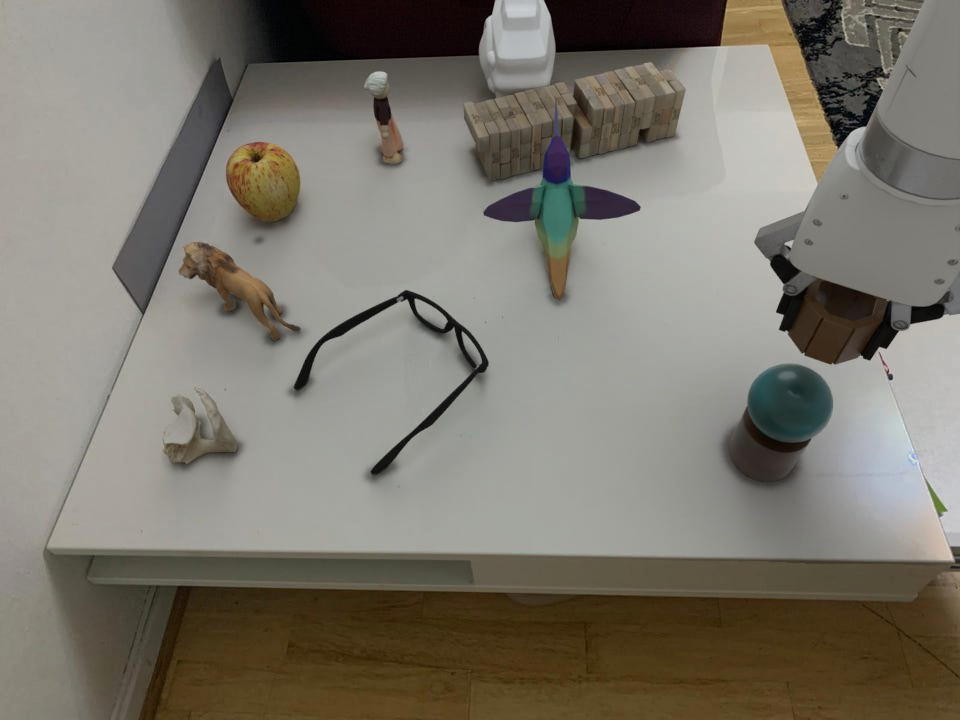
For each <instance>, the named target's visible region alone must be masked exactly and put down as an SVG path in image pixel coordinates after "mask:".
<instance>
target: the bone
mask: <svg viewBox="0 0 960 720" xmlns="http://www.w3.org/2000/svg"><path fill="white" fill-rule="evenodd" d="M193 389H194V390H195V392H196V393H197V395H198V396H199V398H200V401H201V403H202V405H203V406H204V408H205V410H206V413H207V414H206V415H207V418H208V420H209V423H210V425H211V428H212V435H213V438H212V439H205V438H202V436H201V427H202V422H201V421H200V420H199V418H198V415H197V414H196V409H195V405H194V403H193V401H192V400H191V399H190V398H188V397H187V396H183V395H181V394H180V393H177V394H175V395H173V396H172V397H171V403H172V405H173V409H172V412H174V414H175V415H177V417H176V419H175V421H174V422H173V423H170V424H168V425H167V426H165V427H164V430H163V437H162V442H163V445H164V446H163V449H162V453H163V454H164V455H165V456H166V457H168V460H169V463H170V464H175V463H185V465H188V464H189V463H191V462H192V461H194V460H195V459H197V458H198V457H200V456H202V455H205V454H210V453H236V452H237V450H238V445H237V440H236V438H235V435H234V433H233V432H232V431H231V429H230V427H229V426H228V424H227V423H226V421H225V419H224V417H223V415H222V414H221V412H220V411H219V407H218V405H217V403H216V401H215V400H214V399H213V397H212V396H211V395H210V394H209V393H208V392H207V391H205V389H203V388H202V387H197V386H194V388H193Z"/></svg>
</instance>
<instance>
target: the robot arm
mask: <svg viewBox="0 0 960 720" xmlns="http://www.w3.org/2000/svg"><path fill="white" fill-rule="evenodd" d="M788 242H792V244H791V246H790V245H787V244H786V243H788ZM753 244H754V245H755V246H756V248H757V249H758V250H759V251H760V253H761V254H762V255H763V257H765V259H767V260H768V261H769V262H770V263H769V267H770V268H771V269H772V270H773V272H774V273H775V275H776V276H777V278H778V279H779V281H780V282H781V283H782V284H783V286H782V295H781V297H780V299H779V302H778V305H777V308H776V309H775V313H776V314H779V315H781V316H783V317H782V319H781V322H780V325H779V328H778V331H780V332H783V333H786V332H787V331H789V329H790V327H791V325H792V323H793V321H794V319H795V317H796V315H797V312H798V310H799V308H800V306H801V304H802V302H803V299H804V298H803V297H804V295H805V292H806V289H807V287H808V286H809V285H810V284H811V283H813V282H814V281H815V280H816V279H818V278H820V279H824V280H827V281H830V282H833V283H836V284H839V285H842V286H845V287H848V288H852V289H855V290H858V291H861V292H864V293H868V294H871V295H874V296H877V297H881V298H884V299H887V301H888V304H887V308H886V312H885V315H884V319H883V322H882V323H881V324H880V325H879V327H878V328H877V330H876V331H875V333H874V335H873V336H872V338H871V339H870V341H869V342H868V344H867V345H866V347H865V348H864V350H863V352H862V353H861V355H860V357H862V359H863V360H866V361H872V358H873V357H874V356H875V354H876V353H877V351H879V348H881V349H884V350H887V349H888V348H889V347H890V345H891V344H892V342H893V341H894V339H895V338H896V337H897V335H898V334H899V332H904V331H907V330H909V329H910V326H911V325H915V324H920V323H925V322H930V321H936V320H940V319H942V318H943V317H944V316H946V315H948V316H955V315H960V0H923V3H922V4H921V7H920V9H919V11H918V14H917V15H916V18H915V20H914V22H913V24H912V27H911V29H910V30H909V33H908V36H907V37H906V39H905V42H904V44H903V46H902V48H901V50H900V53H899V55H898V57H897V59H896V62H895V64H894V66H893V67H892V70H891V72H890V74H889V77H888V79H887V81H886V83H885V85H884V87H883V90H882V92H881V95H880V96H879V99H878V101H877V103H876V105H875V107H874V109H873V111H872V113H871V115H870V118H869V120H868V122H867V124H866V126H861V127H858V128H856V129H854V130H852V131H851V132H850V133H849V135H847V137H846V138H845V139H844V141H843V142H842V143H841V144H840V146H839V147H838V149H837V150H836V152H835V154H834V155H833V157H832V158H831V160H830V161H829V163H828V165H827V167H826V168H825V170H824V172H823V174H822V176H821V177H820V179H819V181H818V183H817V185H816V187H815V189H814V191H813V193H812V195H811V197H810V199H809V201H808V203H807V205H806V207H805V209H804V210H803V211H800V212H798V213H796V214H795V213H794V214H793V215H790V216H787V217H785V218H783V219H780V220H777V221H776V222H773V223H770V224H767V225H765V226H761V227H760V228H759V230H758V231H757V234H756V236H755V238H754V240H753Z"/></svg>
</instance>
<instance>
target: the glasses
mask: <svg viewBox="0 0 960 720" xmlns="http://www.w3.org/2000/svg"><path fill="white" fill-rule="evenodd" d="M416 300H417V301H421V302H424V303H425V304H427V305H429V306H431V307H432V308H434V309H435V310H437V311H438V312H439V313H440V314H442V315H443V317H445V319H446V321H447V322H446V323H445V325H444V328H441V327H439V326H436V325H435V324H433V323H431V322H430V321H428V320H427V319H425V318H424V317H423V316H421V314H420V313H419V312H418V310H417V306H416ZM405 301H407V302H408V305H409V307H410V310H411V312H412V314H413V315H414V317H415V318H416V319H417V320H418V321H419V322H420V323H422V324H423V325H424V326H425V327H427V328H428V329H431V331H434V332H436V333H438V334H442V335H445V334H448V333H450V332H451V331H453V330H454V334H455V338H456V342H457V344H458V347H459V349H460V351H461V353H462V355H463V356H464V358H465V359H466V361H467V362H468V364H469V366H471V367H472V369H474V370H473V371H472V372H471V373H470V374H469V375H468V376H467V378H465V379H464V380H463V381H462V382H461V383H460V384H459V385H458V386H457V387H456V388H455V389H454V390H453V391H452V392H451V393H450V394H448V396H447V397H446V398H445V399H443V400H442V402H441V403H440V404H439V405H437V407H436V408H435V409H433V410H432V412H431V413H430V414H428V415H427V417H425V418H424V420H422V421H421V422H420V423H419V424H418V425H417V426H416V427H415V428H414V429H413V430H412V431H411V432H409V433H408V434H407V435H406V436H405V437H403V438H402V439H401V440H400V441H399V442H398V443H397V444H395V445H394V446H393V447H392V448H391V449H390V450H389V451H388V452H387V453H386V454H385V455H384V456H383V457H382V458H381V459H379V460H378V462H376V463H375V465H374V466H373V467H372V468H371V470H370V474H371V475H372V476H374V475H375V476H376V475H377V474H379V473H381V472H383V471H385V470H386V469H387V468H388V467H389V466H390V465H391V464H392V463H393V462H394V461H395V459H396V458H397V457H398V456H399V455H400V454H401V452H402V450H404V448H405V447H406V446H407V444H408V443H409V442H410V441H411V440H412V439H413V438H414V437H416V436H417V435H418V434H420V433H422V431H424V430H426V429H428V428H429V427H431V426H432V425H434V424H435V423H436V422H437V421H438V419H439V418H440V417H441V416H442V415H443V414H444V413H445V412H446V411H447V410H448V409H449V408H450V407H451V406H452V404H453V403H454V402H455V400H457V398H458V397H459V396H460V395H461V394H462V393H463V392H464V391H465V389H467V387H468V386H469V385H470V384H471V383H472V382H473V380H474V379H475V378H476V377H477V376H478V374H484V373H485V372H487V369H488V367H489V365H490V364H489V363H490V362H489V360H488V357H487V355H486V353H485V351H484V350H483V347H482V346H481V344H480V343H479V341H478V340H477V339H476V337H475V336H474V335H473V333H472V332H470V331H469V329H467V328H466V327H465V326H464V325H462V324H461V323H459V322H458V321H457V319H455V318H454V317H453V316H452V315H451V314H450V313H448V311H447V310H445V309H444V308H443V307H442V306H440V305H439V304H438V303H437V302H436V301H433V300H432V299H430V298H428V297H426V296H424V295H422V294H420V293H416V292H414V291H411V290H407V289H405V290H403V291H402V292H400V293H399V294H397V296H394V297H391V298H388V299H386V300H384V301H382V302H380V303H378V304H376V305H373V306H372V307H370V308H368V309H366V310H363V311H362V312H359V313H357V314H355V315H353V316H352V317H350V318H347V319H346V320H344V321H343V322H342V323H340V324H338V325H337V326H335V327H334V328H332V329H331V330H329V331H328V332H326V333H325V334H324V335H323V336H322V337H321V338H320V339H318V341H317V342H316V343H315V344H314V345H313V346H312V348H311V349H310V351H309V352H308V354H307V355H306V357H305V359H304V361H303V364H302V366H301V369H300V370H299V374H298V376H297V378H296V380H295V382H294V384H293V389H294V390H295V391H299V390H302V389H303V388H304V387H305V386H306V385H307V383H308V381H309V379H310V375H311V371H312V369H313V366H314V363H315V359H316V357H317V354H318V353H319V350H320V348H321V347H322V346H323V345H324V344H325V343H326V342H328V341H330V340H333V339H336V338H340V337H343V336H344V335H345V334H347V333H348V332H349V331H351V330H352V329H354V328H356V327H357V326H359V325H361V324H363V323H364V322H367V321H368V320H370V319H371V318H373V317H375V316H376V315H378V314H380V313H382V312H384V311H385V310H387V309H389V308H391V307H392V306H394V305H396V304H398V303H399V302H400V303H403V302H405ZM463 333H464V335H465V336H466V337H467V338H468V339H469V340H470V341H471V343H472V344H473V345H474V347H475V349H476V350H477V352H478V354H479V356H480V360H481V362H480V363H479V365H478V364H477V363H476V361H474V359H473V358H472V356H471V355H470V354H469V352H468V350H467V348H466V346H465V342H464V339H463Z"/></svg>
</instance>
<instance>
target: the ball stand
mask: <svg viewBox="0 0 960 720" xmlns="http://www.w3.org/2000/svg"><path fill="white" fill-rule="evenodd" d="M747 393H748V394H747V400H746V407H745V409H744V411H743V413H742V415H741V417H740V419H739V422H738V424H737V426H736V427H735V430H734V432H733V435H732V436H731V439H730V440H729V444H728V445H729V446H728V449H729V450H728V452H729V456H730V459H731V461H732V464H734V466H735V468H737V469H738V471H740V472H741V473H742V474H744V475H745V476H746V477H748V478H750V479H753V480H755V481H758V482H766V483H771V482H776V481H779V480H782V479H785V478H786V477H787V476H788V475H789V474H790V473H791V472H792V470H793V469H794V467H795V466H796V464H797V462H798V461H799V460H800V459H801V456H802V455H803V453H804V452H805V450H806V449H807V447H808V446H809V445H810V443H811V441H812V440H813V438H815V437H816V436H817V435H819V434H821V433H822V432H823V431H824V429H825V428H826V427H827V426H828V424H829V423H830V421H831V418H832V415H833V412H834V396H833V393H832V390H831V387H830V386H829V384H828V383H827V381H826V380H825V379H824V377H823V376H822V375H821V374H820V373H818V372H817V371H815V369H812V368H810V367H808V366H806V365H802V364H799V363H788V362H787V363H780V364H775V365H774V366H773V365H772V366H771V367H768V368H767V369H765V370H763V371H762V372H761V373H760V374H758V376H757V377H756V378H755V379H754V380H753V381H752V384H751V386H750V387H749V390H748V392H747Z"/></svg>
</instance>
